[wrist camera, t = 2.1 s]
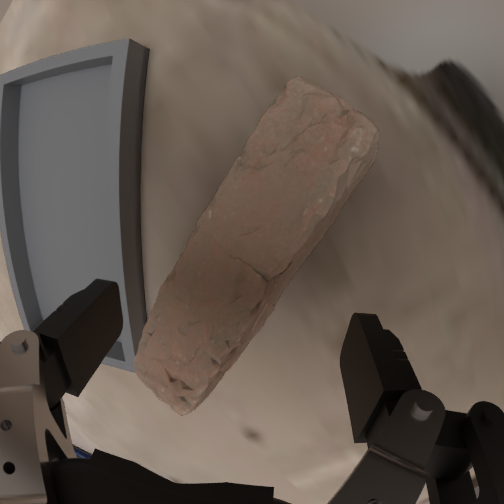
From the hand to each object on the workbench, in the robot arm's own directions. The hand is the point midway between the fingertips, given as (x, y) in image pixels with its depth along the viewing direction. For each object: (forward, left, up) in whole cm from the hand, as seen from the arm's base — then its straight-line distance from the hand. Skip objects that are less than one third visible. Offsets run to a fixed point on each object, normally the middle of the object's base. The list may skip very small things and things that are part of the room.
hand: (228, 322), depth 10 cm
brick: (0, 0, -11) cm, 11 cm away
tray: (+15, 0, -11) cm, 18 cm away
